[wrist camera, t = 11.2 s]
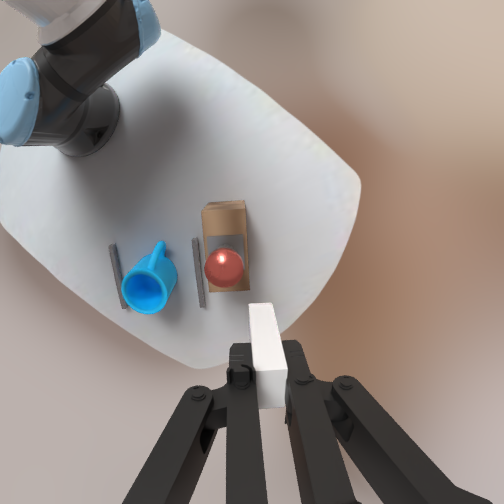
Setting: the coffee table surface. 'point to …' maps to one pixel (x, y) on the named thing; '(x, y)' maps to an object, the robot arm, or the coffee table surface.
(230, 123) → the coffee table surface
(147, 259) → the mug
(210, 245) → the end cabinet
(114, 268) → the pair of gray bars
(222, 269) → the red rounded piece
